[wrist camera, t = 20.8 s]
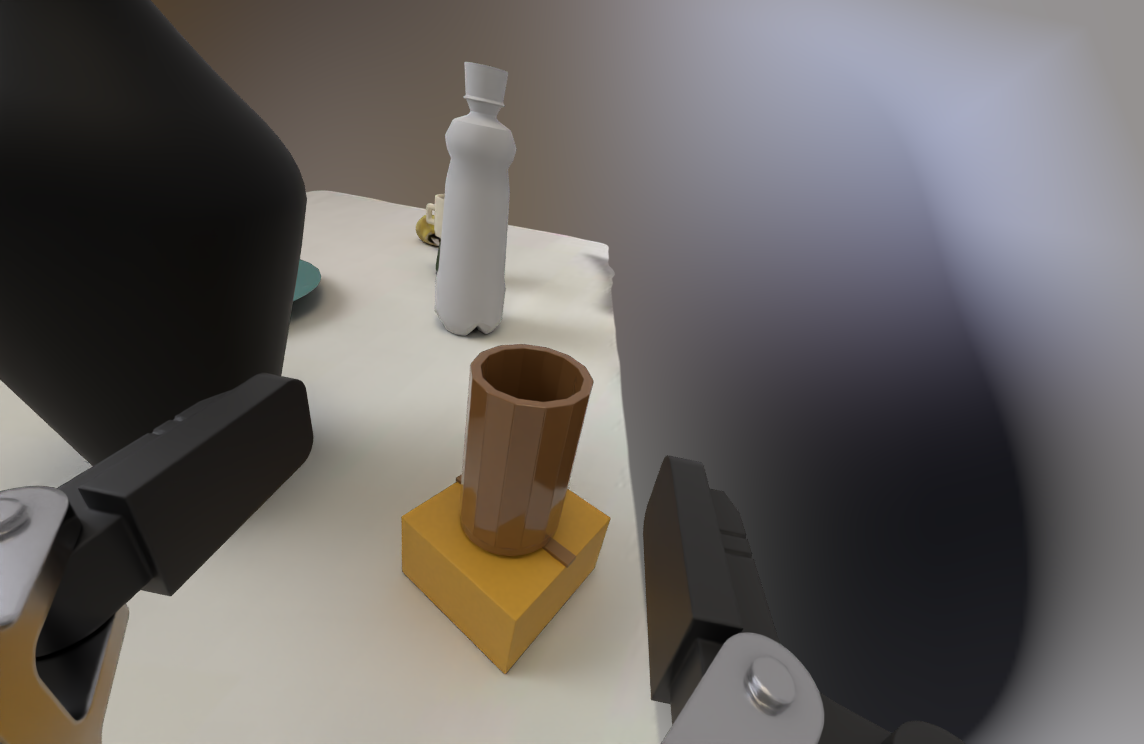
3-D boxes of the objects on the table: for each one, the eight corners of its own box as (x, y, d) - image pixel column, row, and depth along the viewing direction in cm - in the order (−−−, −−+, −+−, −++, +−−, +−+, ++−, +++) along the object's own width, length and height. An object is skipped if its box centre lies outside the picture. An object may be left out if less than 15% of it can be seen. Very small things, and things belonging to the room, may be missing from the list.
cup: (578, 513, 27) (615, 378, 22) (512, 577, 22) (540, 424, 18) (509, 464, 30) (528, 334, 25) (436, 513, 25) (443, 365, 20)
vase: (360, 499, 31) (305, -239, 15) (-18, 626, 21) (-1750, -1472, 4) (307, 382, 42) (241, -120, 25) (40, 427, 32) (-374, -378, 15)
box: (596, 568, 30) (613, 515, 27) (506, 676, 23) (518, 619, 21) (500, 496, 34) (508, 445, 32) (400, 570, 27) (399, 512, 25)
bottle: (487, 310, 66) (509, 77, 51) (511, 337, 59) (543, 78, 45) (426, 313, 61) (431, 56, 47) (444, 342, 55) (457, 55, 40)
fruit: (423, 251, 86) (408, 230, 92) (450, 259, 90) (434, 239, 96) (433, 224, 84) (417, 205, 90) (461, 234, 88) (443, 215, 94)
